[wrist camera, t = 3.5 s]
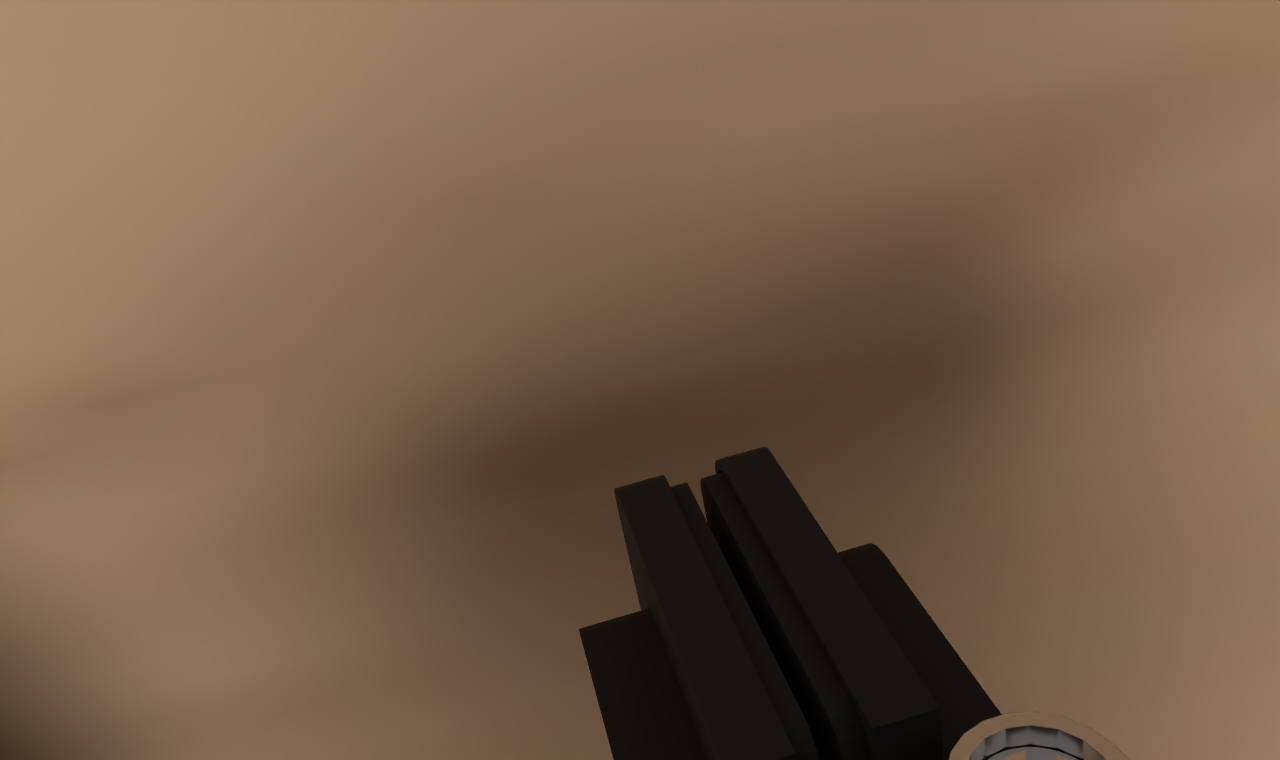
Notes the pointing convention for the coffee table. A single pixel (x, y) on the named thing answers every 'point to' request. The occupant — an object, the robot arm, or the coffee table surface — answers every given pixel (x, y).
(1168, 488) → the coffee table surface
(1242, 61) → the coffee table surface
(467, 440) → the coffee table surface
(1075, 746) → the robot arm
